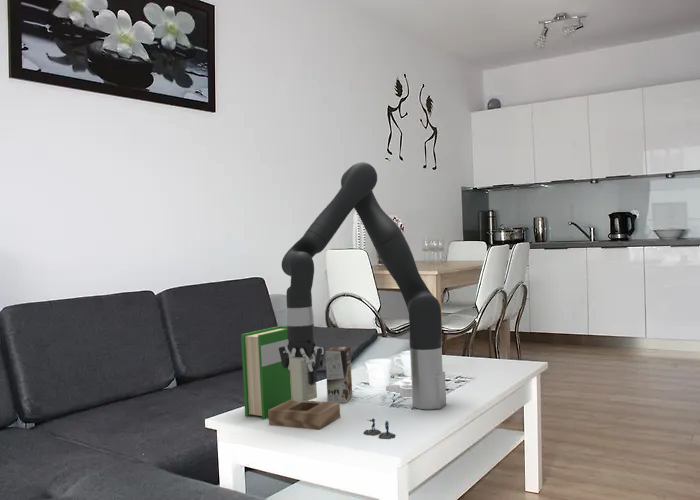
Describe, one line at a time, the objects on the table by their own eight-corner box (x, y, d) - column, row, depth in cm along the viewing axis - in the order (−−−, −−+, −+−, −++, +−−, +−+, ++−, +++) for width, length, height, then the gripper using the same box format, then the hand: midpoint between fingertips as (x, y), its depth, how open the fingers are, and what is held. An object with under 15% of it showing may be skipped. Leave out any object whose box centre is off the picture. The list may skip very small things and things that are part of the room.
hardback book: (264, 419, 178) (260, 335, 177) (245, 416, 182) (240, 334, 181) (302, 404, 193) (298, 326, 192) (283, 402, 197) (279, 325, 196)
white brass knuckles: (407, 384, 214) (446, 388, 206) (380, 396, 199) (422, 400, 191) (407, 374, 214) (446, 377, 206) (380, 385, 199) (421, 389, 191)
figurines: (401, 436, 157) (400, 419, 157) (388, 441, 154) (387, 423, 154) (371, 429, 164) (370, 413, 164) (359, 434, 161) (358, 417, 161)
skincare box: (307, 396, 178) (305, 353, 178) (317, 398, 175) (315, 354, 175) (290, 400, 174) (288, 357, 173) (301, 403, 170) (298, 358, 170)
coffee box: (347, 403, 191) (344, 350, 191) (327, 403, 192) (324, 350, 192) (353, 395, 200) (350, 345, 200) (333, 395, 201) (331, 345, 201)
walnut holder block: (340, 417, 176) (339, 403, 176) (319, 429, 165) (319, 414, 165) (291, 412, 183) (290, 399, 183) (268, 424, 172) (268, 410, 172)
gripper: (329, 321, 174) (332, 382, 175) (285, 321, 181) (288, 379, 181) (316, 325, 168) (319, 388, 168) (271, 324, 174) (274, 385, 174)
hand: (303, 383), depth 174 cm, fingers closed on skincare box, 5 cm apart
